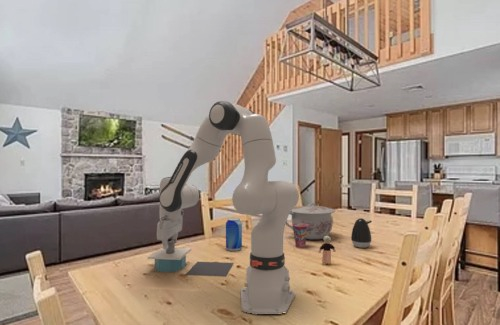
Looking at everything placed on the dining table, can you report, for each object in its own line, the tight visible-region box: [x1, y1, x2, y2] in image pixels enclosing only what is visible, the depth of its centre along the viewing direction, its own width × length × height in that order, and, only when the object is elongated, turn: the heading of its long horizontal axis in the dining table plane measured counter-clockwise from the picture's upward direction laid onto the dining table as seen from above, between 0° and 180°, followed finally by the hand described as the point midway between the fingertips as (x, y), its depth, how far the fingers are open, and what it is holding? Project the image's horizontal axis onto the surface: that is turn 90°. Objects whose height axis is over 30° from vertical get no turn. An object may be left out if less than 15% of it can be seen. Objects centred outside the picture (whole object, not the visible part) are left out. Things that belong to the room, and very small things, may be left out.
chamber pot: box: [285, 202, 336, 241], centre depth 191 cm, size 28×28×21 cm
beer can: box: [225, 217, 243, 252], centre depth 166 cm, size 8×8×16 cm
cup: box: [291, 223, 310, 249], centre depth 170 cm, size 9×8×12 cm
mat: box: [184, 261, 235, 278], centre depth 135 cm, size 17×17×1 cm
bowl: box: [154, 254, 187, 273], centre depth 137 cm, size 12×12×6 cm
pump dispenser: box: [350, 218, 372, 249], centre depth 169 cm, size 10×10×15 cm
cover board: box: [147, 240, 192, 260], centre depth 137 cm, size 14×14×5 cm
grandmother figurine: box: [317, 235, 337, 266], centre depth 141 cm, size 8×4×13 cm, turn 105°
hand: (170, 245), depth 137 cm, fingers open, 8 cm apart
